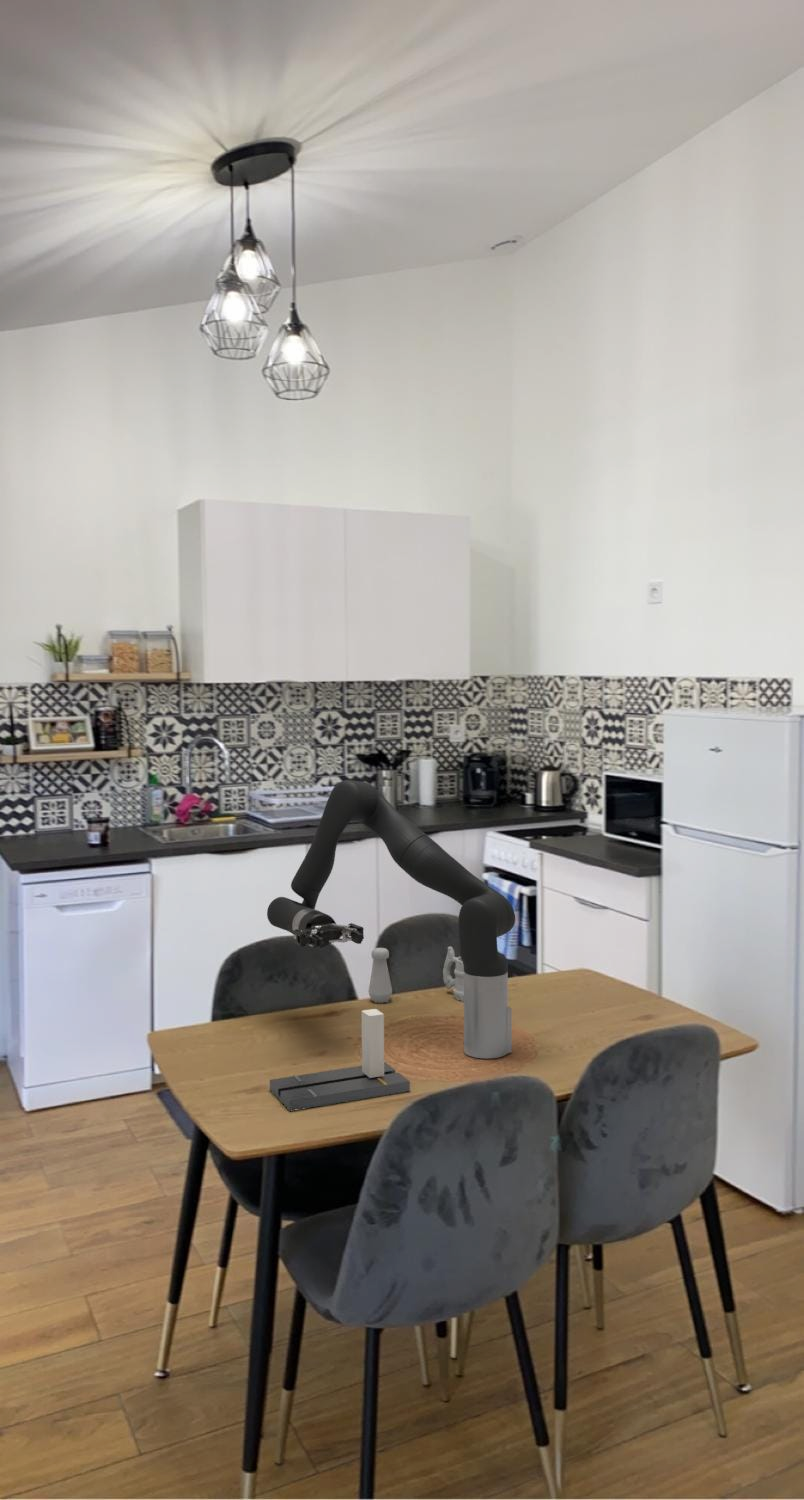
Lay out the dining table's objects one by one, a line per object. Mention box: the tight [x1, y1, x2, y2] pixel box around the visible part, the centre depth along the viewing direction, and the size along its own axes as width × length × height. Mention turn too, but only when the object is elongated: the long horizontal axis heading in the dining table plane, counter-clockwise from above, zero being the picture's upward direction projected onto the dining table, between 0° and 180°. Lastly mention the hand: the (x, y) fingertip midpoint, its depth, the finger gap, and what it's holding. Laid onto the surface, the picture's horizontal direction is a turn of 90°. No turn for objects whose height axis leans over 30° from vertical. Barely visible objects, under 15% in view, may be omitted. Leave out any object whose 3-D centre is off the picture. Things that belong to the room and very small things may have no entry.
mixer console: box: [269, 1061, 411, 1112], centre depth 212 cm, size 24×12×2 cm, turn 114°
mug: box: [442, 946, 464, 1002], centre depth 276 cm, size 8×12×12 cm, turn 49°
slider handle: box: [361, 1008, 385, 1078], centre depth 215 cm, size 3×4×13 cm
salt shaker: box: [368, 947, 393, 1004], centre depth 273 cm, size 6×6×13 cm
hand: (340, 941), depth 229 cm, fingers open, 8 cm apart
